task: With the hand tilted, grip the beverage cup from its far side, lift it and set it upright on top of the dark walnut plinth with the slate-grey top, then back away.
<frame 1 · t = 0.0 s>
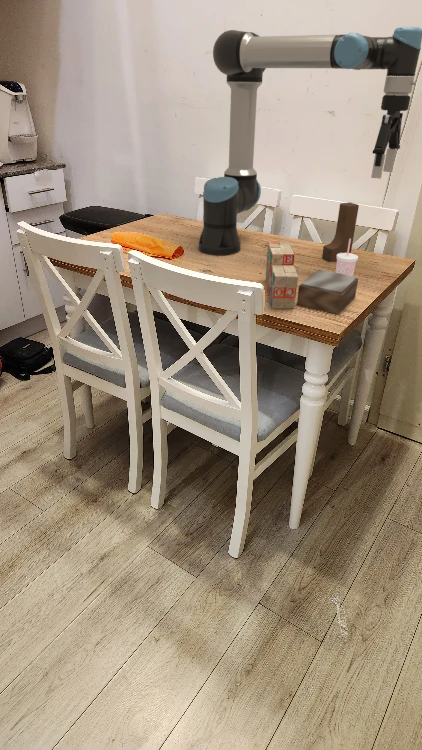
hand: (382, 174, 148), 28 cm above the table, tool pointing down, fingers open, 13 cm apart
plinth: (326, 300, 135), on the table
stack of blocks: (278, 294, 140), on the table
beverage cup: (342, 285, 146), on the table
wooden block: (335, 259, 167), on the table
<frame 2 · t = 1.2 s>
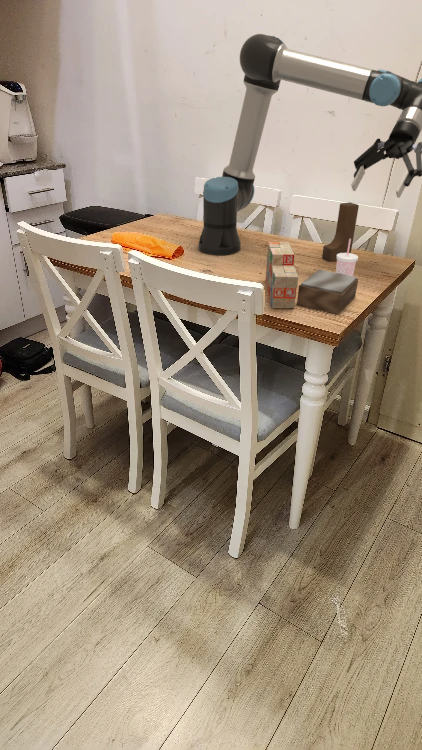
hand: (374, 191, 139), 25 cm above the table, tool tilted 45°, fingers open, 13 cm apart
nothing on the table moved.
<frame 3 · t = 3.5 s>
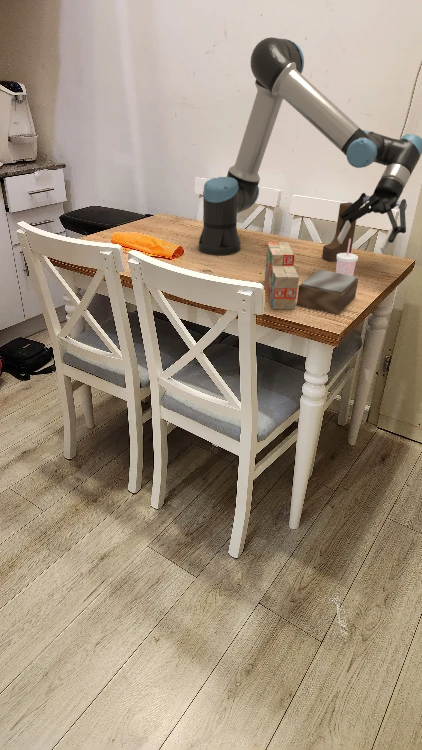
hand: (360, 246, 142), 11 cm above the table, tool tilted 45°, fingers open, 13 cm apart
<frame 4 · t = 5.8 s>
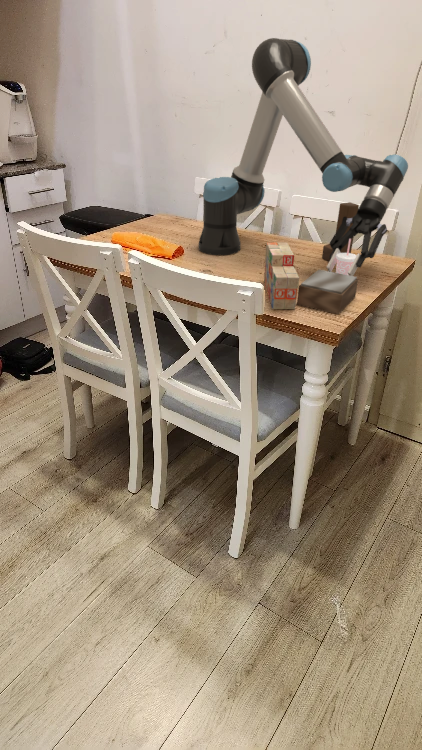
hand: (339, 272, 141), 5 cm above the table, tool tilted 45°, fingers closed on beverage cup, 6 cm apart
beverage cup: (342, 285, 146), on the table, touching gripper
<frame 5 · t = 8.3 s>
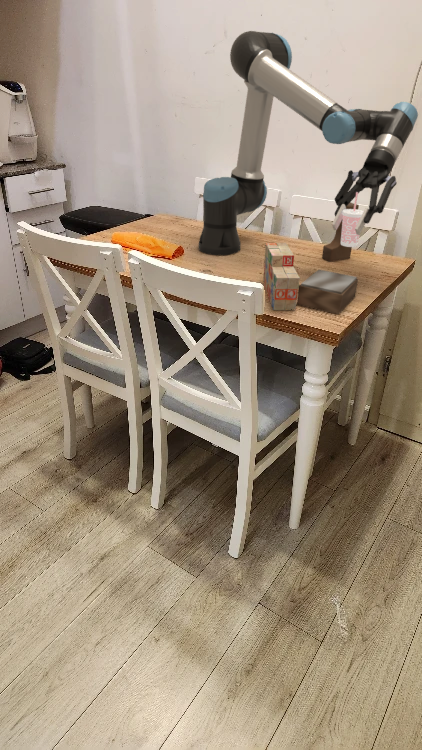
hand: (345, 229, 131), 18 cm above the table, tool tilted 45°, fingers closed on beverage cup, 6 cm apart
beverage cup: (348, 245, 136), point 13 cm above the table, touching gripper
when the fingers open (12 cm above the table, at t = 10.7 s): beverage cup drops 1 cm, resting on plinth.
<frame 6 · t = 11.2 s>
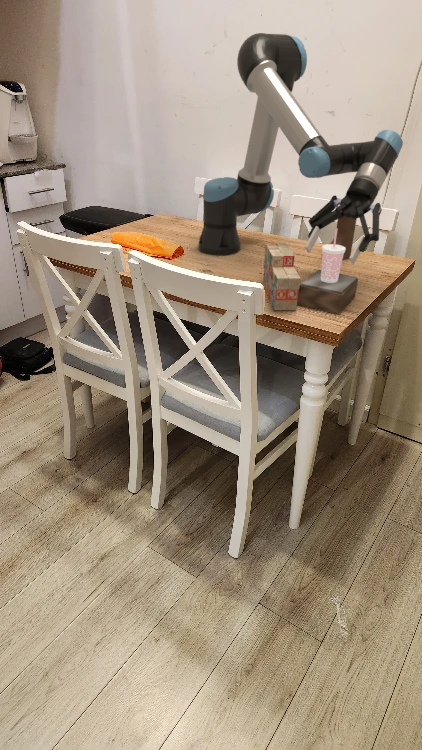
hand: (328, 255, 127), 14 cm above the table, tool tilted 45°, fingers open, 12 cm apart
beverage cup: (329, 280, 133), point 6 cm above the table, touching plinth
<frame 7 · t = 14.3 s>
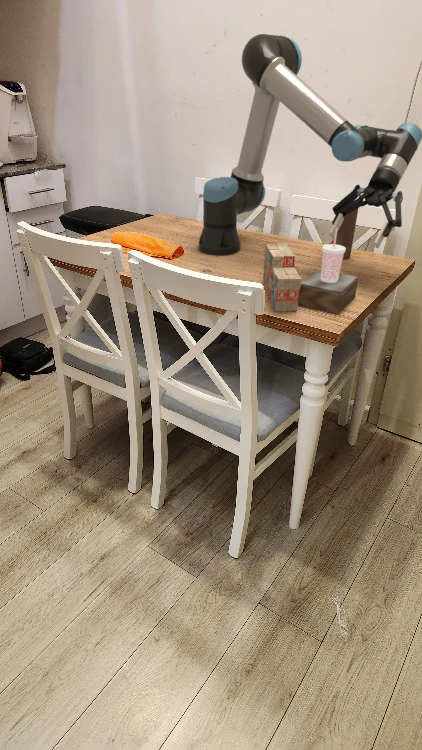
hand: (353, 240, 134), 15 cm above the table, tool tilted 45°, fingers open, 13 cm apart
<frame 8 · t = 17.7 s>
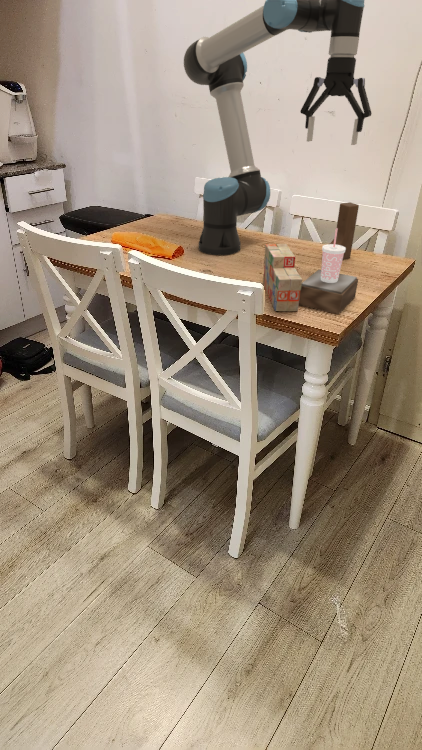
hand: (331, 142, 143), 37 cm above the table, tool pointing down, fingers open, 13 cm apart
at the end: beverage cup inside the target area on the plinth (0.2 cm from its centre), point 5.8 cm above the plinth's base; beverage cup tilted 0°; the gripper is holding nothing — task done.
